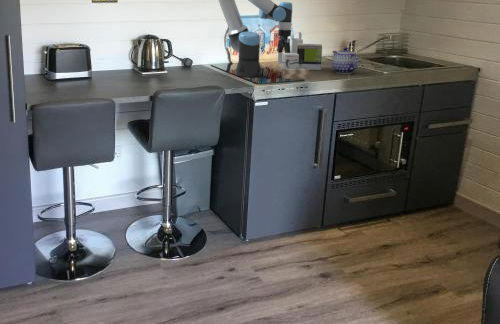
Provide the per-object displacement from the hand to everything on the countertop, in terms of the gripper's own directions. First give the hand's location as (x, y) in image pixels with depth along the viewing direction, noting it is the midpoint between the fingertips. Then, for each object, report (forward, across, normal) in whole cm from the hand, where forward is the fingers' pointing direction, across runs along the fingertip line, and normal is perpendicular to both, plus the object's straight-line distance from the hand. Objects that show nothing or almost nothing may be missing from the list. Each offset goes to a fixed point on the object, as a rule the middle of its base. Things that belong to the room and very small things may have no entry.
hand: (283, 65), depth 345 cm
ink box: (+3, -14, 0) cm, 14 cm away
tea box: (+3, +2, -17) cm, 18 cm away
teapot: (+3, -13, -34) cm, 36 cm away
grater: (+3, +20, -13) cm, 25 cm away
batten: (+3, -27, +1) cm, 27 cm away
